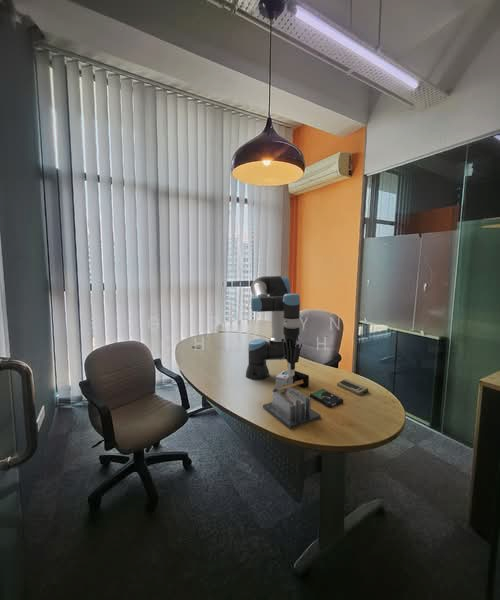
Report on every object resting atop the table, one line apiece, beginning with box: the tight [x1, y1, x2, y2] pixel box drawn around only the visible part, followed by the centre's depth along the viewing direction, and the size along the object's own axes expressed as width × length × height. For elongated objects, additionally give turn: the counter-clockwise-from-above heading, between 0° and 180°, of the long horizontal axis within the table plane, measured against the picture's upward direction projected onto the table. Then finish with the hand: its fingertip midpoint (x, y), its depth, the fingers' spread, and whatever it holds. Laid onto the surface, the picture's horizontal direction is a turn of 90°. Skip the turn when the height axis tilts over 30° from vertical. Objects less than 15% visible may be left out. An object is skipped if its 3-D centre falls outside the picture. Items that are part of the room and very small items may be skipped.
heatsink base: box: [262, 385, 322, 430], centre depth 134 cm, size 22×18×10 cm
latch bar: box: [277, 380, 304, 391], centre depth 134 cm, size 19×4×2 cm
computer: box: [336, 378, 369, 396], centre depth 160 cm, size 16×8×3 cm, turn 31°
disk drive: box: [309, 388, 344, 409], centre depth 147 cm, size 10×3×15 cm
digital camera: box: [293, 370, 310, 389], centre depth 166 cm, size 10×5×7 cm, turn 41°
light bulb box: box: [275, 370, 294, 393], centre depth 156 cm, size 11×7×11 cm, turn 152°
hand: (291, 375), depth 132 cm, fingers closed
